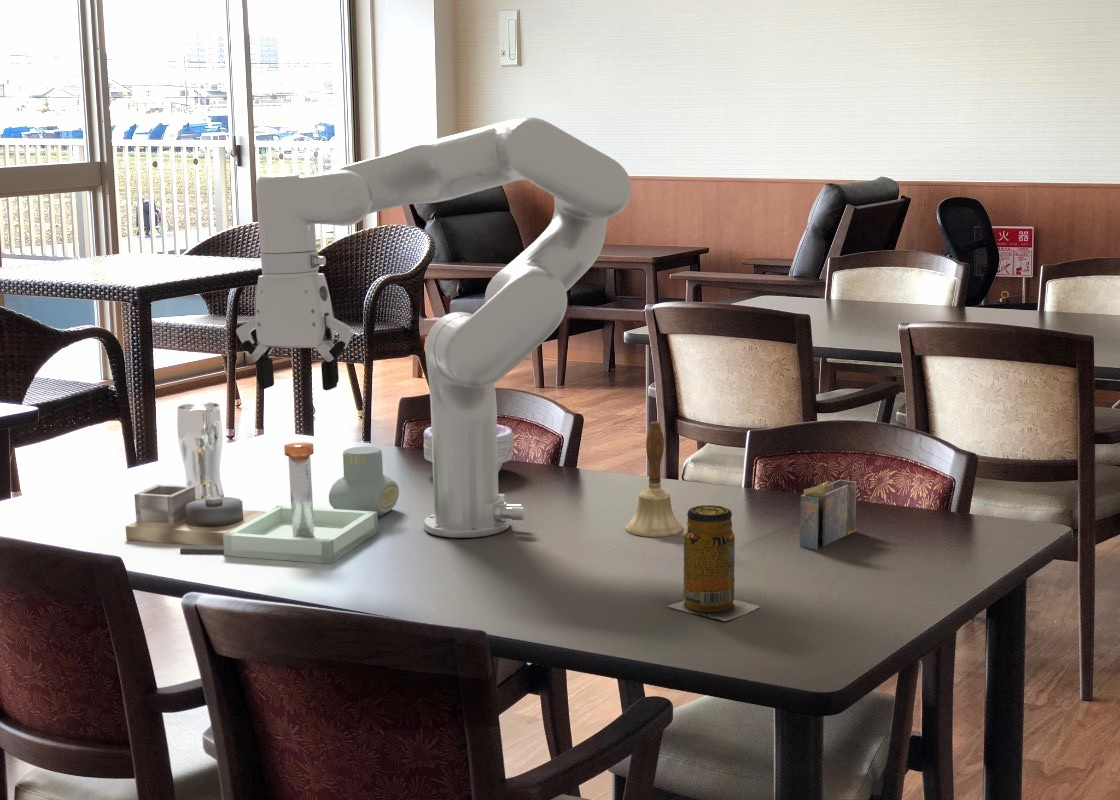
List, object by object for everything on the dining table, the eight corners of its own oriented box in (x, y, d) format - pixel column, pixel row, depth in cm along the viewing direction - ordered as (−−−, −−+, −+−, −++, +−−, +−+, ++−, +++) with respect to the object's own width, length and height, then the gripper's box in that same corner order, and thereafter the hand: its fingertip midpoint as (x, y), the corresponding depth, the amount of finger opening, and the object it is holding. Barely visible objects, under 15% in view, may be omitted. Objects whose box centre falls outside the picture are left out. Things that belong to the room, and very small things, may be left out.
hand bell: (693, 526, 197) (693, 419, 194) (665, 540, 190) (665, 429, 188) (643, 519, 202) (643, 414, 199) (614, 532, 195) (614, 423, 192)
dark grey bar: (282, 550, 188) (282, 546, 188) (278, 554, 186) (278, 550, 186) (185, 548, 190) (185, 544, 190) (180, 553, 188) (179, 548, 188)
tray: (377, 531, 197) (377, 511, 197) (330, 563, 182) (329, 542, 181) (278, 525, 201) (277, 505, 201) (224, 555, 186) (222, 534, 186)
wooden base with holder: (266, 524, 202) (264, 485, 201) (225, 546, 191) (223, 505, 189) (171, 518, 206) (168, 479, 205) (125, 539, 195) (122, 499, 194)
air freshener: (357, 503, 214) (355, 441, 212) (405, 507, 211) (402, 444, 209) (323, 521, 204) (320, 456, 202) (372, 525, 201) (370, 459, 199)
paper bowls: (530, 470, 234) (529, 425, 233) (479, 489, 221) (478, 441, 220) (459, 460, 242) (458, 417, 241) (406, 478, 229) (404, 432, 228)
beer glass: (232, 491, 222) (226, 402, 219) (217, 502, 215) (211, 410, 213) (191, 491, 223) (185, 401, 220) (175, 502, 216) (169, 409, 213)
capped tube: (322, 533, 193) (318, 442, 191) (310, 541, 189) (305, 448, 187) (297, 532, 194) (292, 442, 192) (284, 539, 190) (279, 447, 188)
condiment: (704, 593, 167) (704, 499, 165) (760, 608, 162) (762, 511, 160) (667, 608, 162) (667, 511, 160) (724, 623, 157) (725, 523, 154)
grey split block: (819, 553, 185) (820, 484, 183) (799, 549, 187) (800, 481, 185) (857, 534, 193) (859, 468, 191) (838, 531, 195) (840, 465, 193)
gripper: (359, 261, 186) (366, 384, 189) (246, 263, 191) (255, 382, 194) (335, 266, 179) (344, 394, 182) (219, 268, 183) (229, 392, 187)
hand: (298, 388), depth 188 cm, fingers open, 9 cm apart
